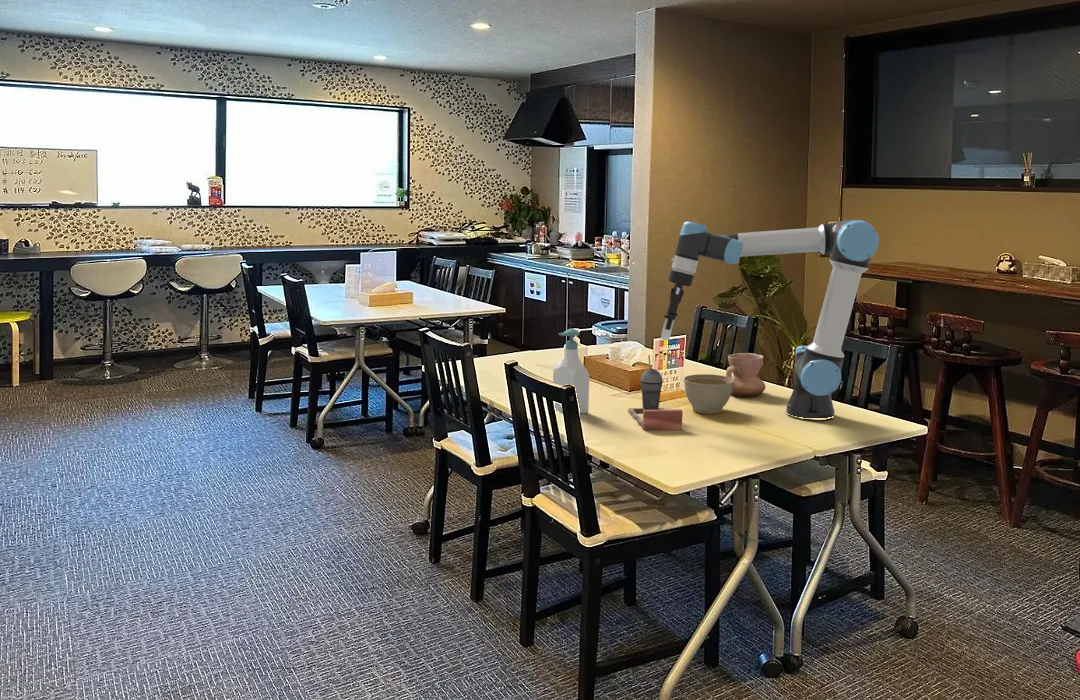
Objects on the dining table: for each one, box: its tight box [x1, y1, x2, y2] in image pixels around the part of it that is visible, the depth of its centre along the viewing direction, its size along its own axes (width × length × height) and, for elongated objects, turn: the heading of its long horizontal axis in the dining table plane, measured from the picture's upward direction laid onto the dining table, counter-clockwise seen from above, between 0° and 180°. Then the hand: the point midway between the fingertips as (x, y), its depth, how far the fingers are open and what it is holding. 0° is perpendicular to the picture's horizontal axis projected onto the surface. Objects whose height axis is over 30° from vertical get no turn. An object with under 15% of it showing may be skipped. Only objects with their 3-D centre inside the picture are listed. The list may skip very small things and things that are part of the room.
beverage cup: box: [639, 354, 664, 410], centre depth 293 cm, size 7×7×20 cm
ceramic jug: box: [725, 352, 767, 397], centre depth 326 cm, size 18×14×14 cm
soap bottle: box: [552, 328, 590, 414], centre depth 297 cm, size 11×8×27 cm
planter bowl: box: [683, 373, 734, 415], centre depth 302 cm, size 16×16×11 cm
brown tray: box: [627, 407, 684, 431], centre depth 289 cm, size 23×12×6 cm, turn 6°
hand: (665, 337), depth 287 cm, fingers open, 13 cm apart
